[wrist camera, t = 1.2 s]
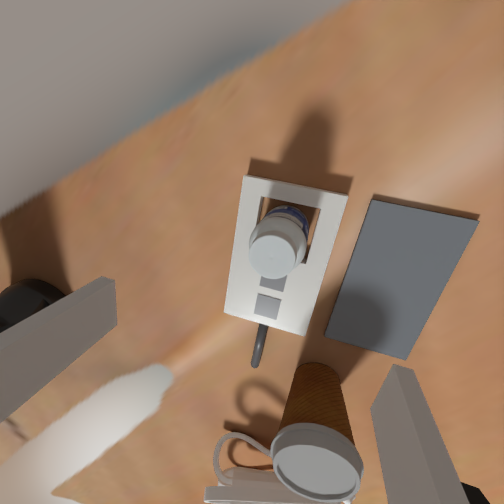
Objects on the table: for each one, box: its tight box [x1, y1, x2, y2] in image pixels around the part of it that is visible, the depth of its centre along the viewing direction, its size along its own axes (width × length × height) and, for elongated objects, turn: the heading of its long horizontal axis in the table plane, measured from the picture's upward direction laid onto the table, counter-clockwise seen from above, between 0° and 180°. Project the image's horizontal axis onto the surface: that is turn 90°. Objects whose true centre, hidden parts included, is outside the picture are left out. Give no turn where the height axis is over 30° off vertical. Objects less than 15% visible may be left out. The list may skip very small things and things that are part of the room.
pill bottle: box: [249, 205, 309, 279], centre depth 26 cm, size 5×5×10 cm
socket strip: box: [224, 174, 348, 368], centre depth 33 cm, size 27×11×2 cm, turn 171°
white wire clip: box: [204, 432, 356, 504], centre depth 42 cm, size 17×9×22 cm
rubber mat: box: [324, 199, 480, 360], centre depth 29 cm, size 10×18×1 cm, turn 171°
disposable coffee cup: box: [270, 363, 364, 503], centre depth 31 cm, size 10×10×12 cm
